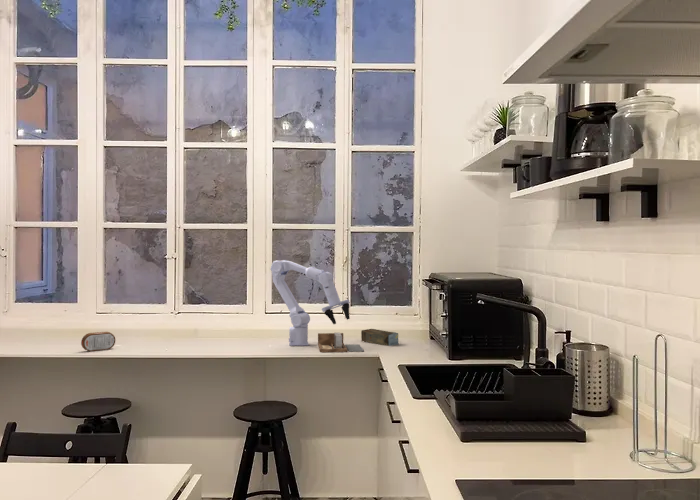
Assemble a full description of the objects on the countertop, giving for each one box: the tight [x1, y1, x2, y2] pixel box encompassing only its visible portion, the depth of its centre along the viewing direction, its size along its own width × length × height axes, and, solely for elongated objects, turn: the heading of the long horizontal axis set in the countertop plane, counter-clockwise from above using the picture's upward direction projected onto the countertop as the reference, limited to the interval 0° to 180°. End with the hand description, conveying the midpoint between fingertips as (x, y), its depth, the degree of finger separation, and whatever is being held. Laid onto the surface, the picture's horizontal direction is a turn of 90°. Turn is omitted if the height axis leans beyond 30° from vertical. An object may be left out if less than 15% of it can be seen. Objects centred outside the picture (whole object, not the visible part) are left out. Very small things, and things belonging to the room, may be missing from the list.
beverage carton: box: [360, 328, 399, 347], centre depth 304 cm, size 8×19×7 cm, turn 46°
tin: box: [80, 331, 116, 352], centre depth 278 cm, size 15×3×8 cm, turn 132°
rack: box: [317, 332, 348, 353], centre depth 286 cm, size 12×19×6 cm, turn 6°
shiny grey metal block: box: [333, 332, 343, 349], centre depth 286 cm, size 3×11×7 cm, turn 6°
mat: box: [344, 343, 365, 353], centre depth 287 cm, size 7×18×1 cm, turn 6°
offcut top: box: [322, 345, 332, 349], centre depth 286 cm, size 4×13×1 cm, turn 8°
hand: (341, 321), depth 289 cm, fingers open, 7 cm apart
